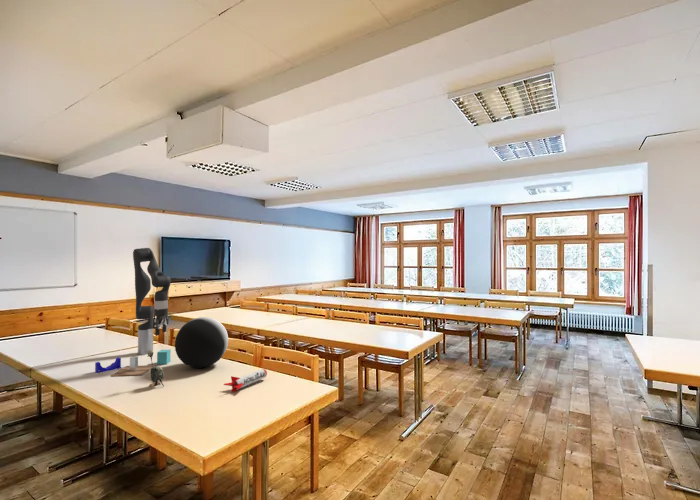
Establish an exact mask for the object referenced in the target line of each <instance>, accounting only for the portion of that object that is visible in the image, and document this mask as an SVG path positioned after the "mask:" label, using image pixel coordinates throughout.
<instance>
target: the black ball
mask: <svg viewBox="0 0 700 500" xmlns="http://www.w3.org/2000/svg"><path fill="white" fill-rule="evenodd" d="M228 345H229V335H228V331H227V329H226V327H225V326H224V325H223V324H222V322H220V321H219V320H217V319H215V318H212V317H209V316H200V317H196V318H192V319H190V320H189V321H187V322H186V323H184V324H183V326H181V328H180V329H179V330H178V332H177V334H176V336H175V339H174V351H175V354H176V356H177V358H178V359H179V360H180V361H181V362H182V363H183V364H184V365H186V366H188V367H191V368H196V369H201V368H202V369H203V368H207V367H210V366H212V365H214V364H216V363H217V362H219V360H221V358H223V356H224V355H225V353H226V351H227V349H228V347H229V346H228Z"/></svg>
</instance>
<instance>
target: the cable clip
mask: <svg viewBox="0 0 700 500" xmlns="http://www.w3.org/2000/svg"><path fill="white" fill-rule="evenodd" d="M94 363H95V365H94V366H95V367H94V371H95V373H96V374H99V373H105V372H109V371H115V370H118V369H119V370H120V369H122V366H121V364H122V358H121V357H115V361H114V362H112V363H111V364H110V365H107V366H105V367H103V366H102V365H101V362H99V361H96V362H94Z"/></svg>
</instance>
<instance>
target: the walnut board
mask: <svg viewBox="0 0 700 500" xmlns="http://www.w3.org/2000/svg"><path fill="white" fill-rule="evenodd" d="M154 366H156V365H154V364H153V367H154ZM151 368H152V364H151V365H150V364H149V365H138V369H137V370H136V371H130V365H126V366H124V367H123V368H120V369H119V370H118V371H116V372H113V374H111V375H110V377H113V378H114V377H138V376H139V377H142V376H143V375H145V374H146V373H148V372H149V371H151Z"/></svg>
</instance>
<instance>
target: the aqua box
mask: <svg viewBox="0 0 700 500" xmlns="http://www.w3.org/2000/svg"><path fill="white" fill-rule="evenodd" d="M171 351H172V350H171V349H160V350H159V351H157V352H156V354H157V355H156V356H157V357H156V359H157V360H156V361H157V362H156V363H157V365H156V366H159V365H168V364H169V363H170V362H171Z"/></svg>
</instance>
